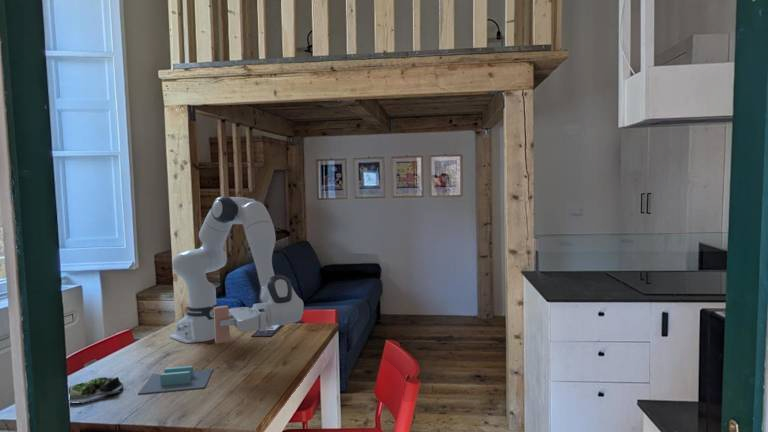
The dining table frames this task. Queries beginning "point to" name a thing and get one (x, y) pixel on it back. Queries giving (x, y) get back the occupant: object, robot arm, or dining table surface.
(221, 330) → the salmon orange block
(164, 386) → the mat
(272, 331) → the chocolate bar
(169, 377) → the slotted rack
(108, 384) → the salad plate
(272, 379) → the dining table surface
